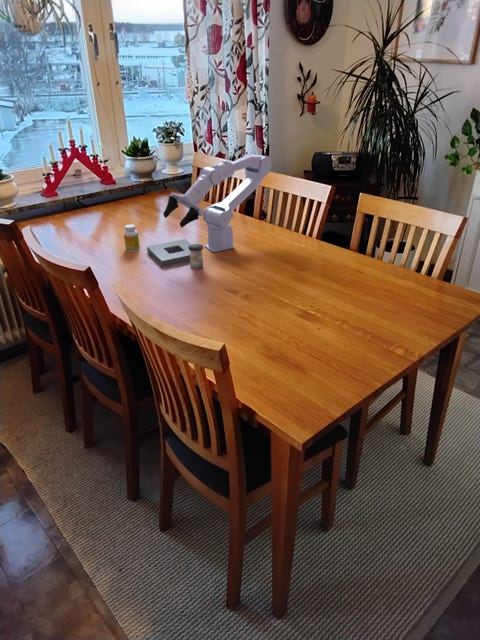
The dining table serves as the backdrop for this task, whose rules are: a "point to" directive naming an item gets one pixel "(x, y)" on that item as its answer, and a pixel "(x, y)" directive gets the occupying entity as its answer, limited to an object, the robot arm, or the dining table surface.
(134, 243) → the supplement bottle
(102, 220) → the dining table surface
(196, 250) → the capped peg
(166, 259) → the socket block
